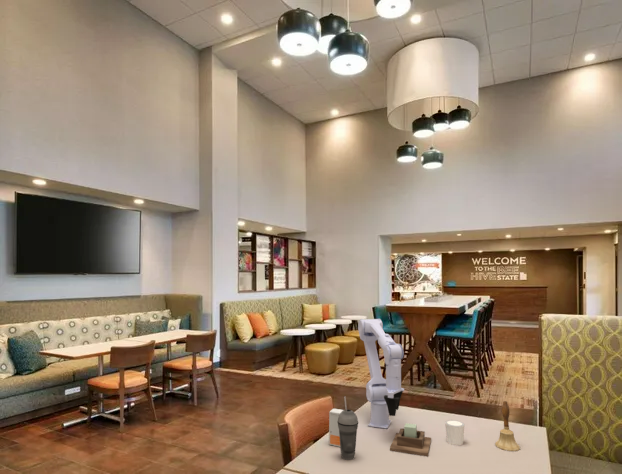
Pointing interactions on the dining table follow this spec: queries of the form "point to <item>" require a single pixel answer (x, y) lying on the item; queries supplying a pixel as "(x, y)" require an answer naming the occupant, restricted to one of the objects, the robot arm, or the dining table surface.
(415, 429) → the block
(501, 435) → the hand bell
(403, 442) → the well stand
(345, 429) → the beverage cup
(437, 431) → the dining table surface
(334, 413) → the skincare box
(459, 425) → the white ribbed cylinder
